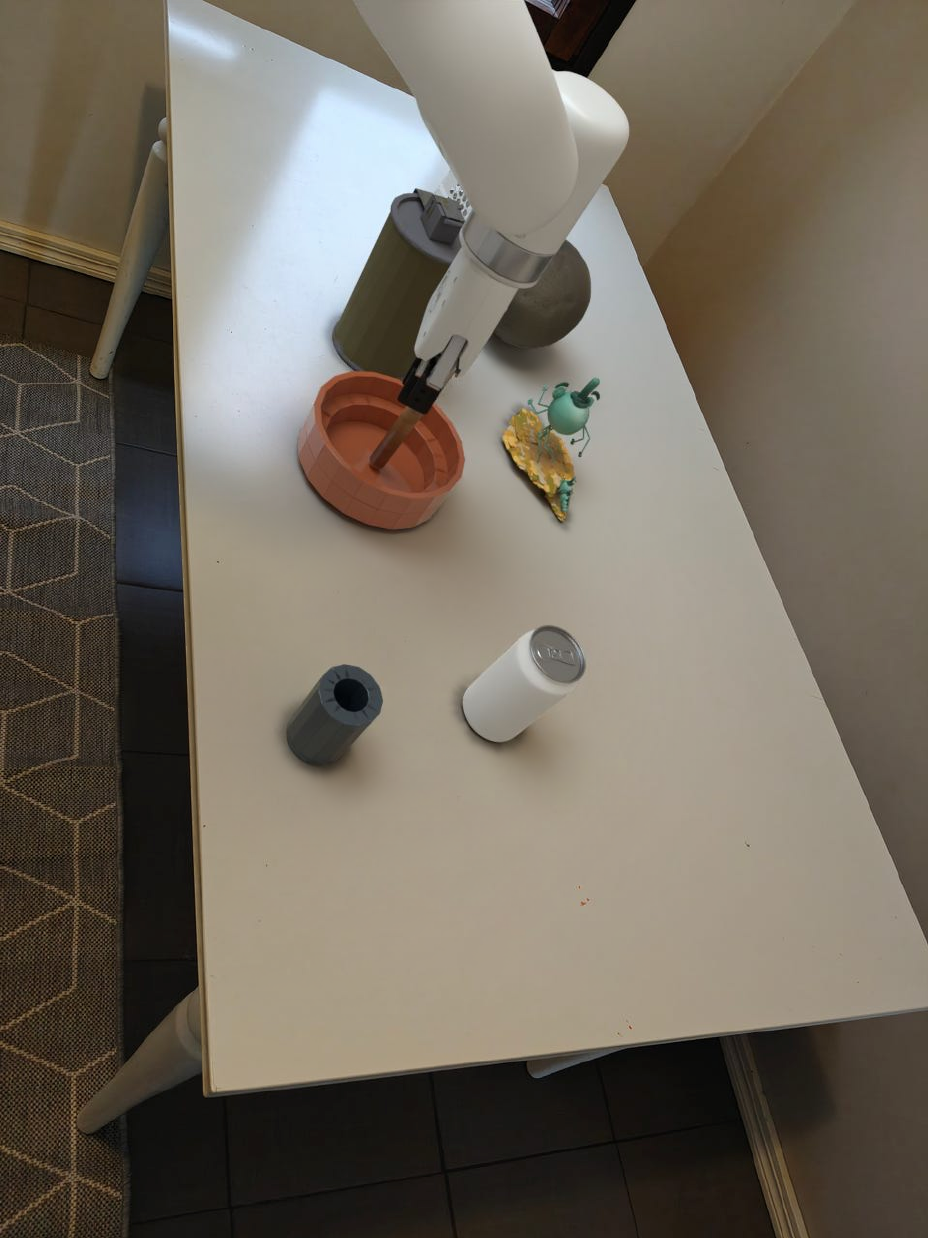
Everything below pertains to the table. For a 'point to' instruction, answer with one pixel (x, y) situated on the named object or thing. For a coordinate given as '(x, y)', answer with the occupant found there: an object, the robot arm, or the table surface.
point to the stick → (396, 436)
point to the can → (524, 683)
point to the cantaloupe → (549, 303)
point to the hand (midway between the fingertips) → (414, 397)
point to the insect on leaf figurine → (551, 441)
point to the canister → (399, 283)
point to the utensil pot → (334, 714)
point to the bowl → (348, 435)
